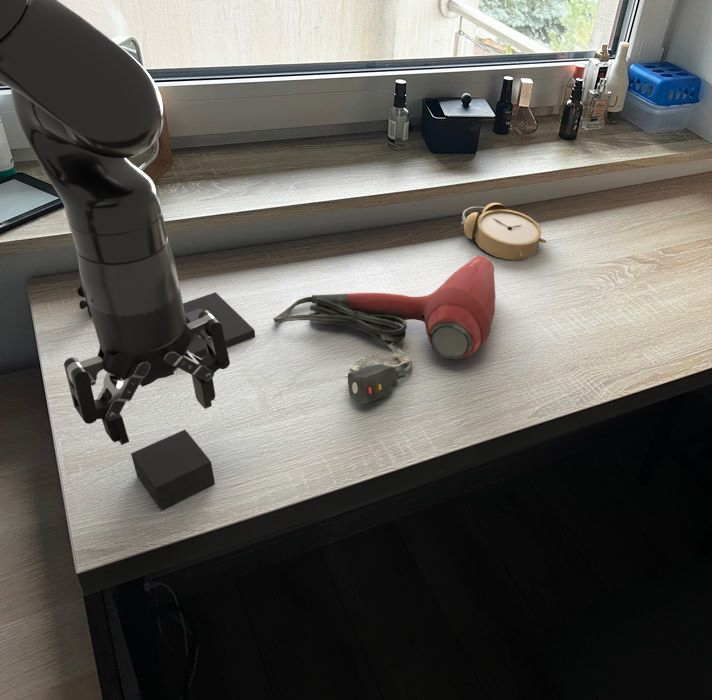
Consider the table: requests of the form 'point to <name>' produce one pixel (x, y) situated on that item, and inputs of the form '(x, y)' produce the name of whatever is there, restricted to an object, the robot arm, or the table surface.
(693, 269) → the table surface
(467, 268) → the hair dryer
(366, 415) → the table surface
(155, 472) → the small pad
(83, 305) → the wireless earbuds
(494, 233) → the alarm clock
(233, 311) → the base pad
